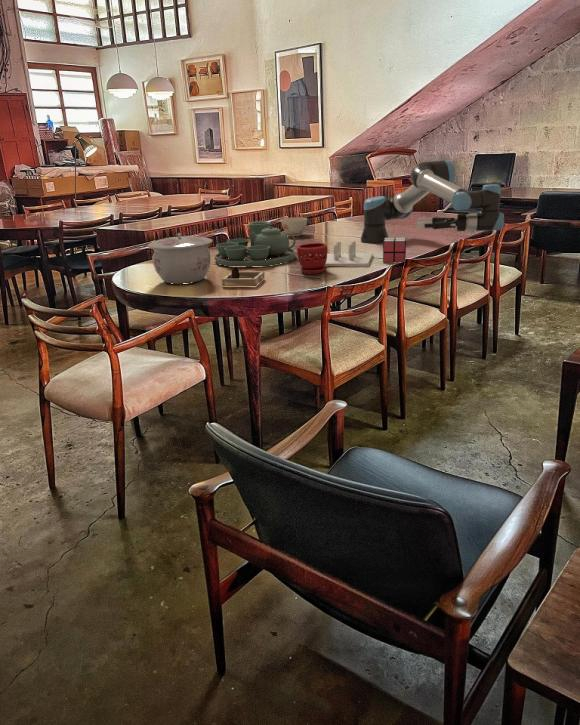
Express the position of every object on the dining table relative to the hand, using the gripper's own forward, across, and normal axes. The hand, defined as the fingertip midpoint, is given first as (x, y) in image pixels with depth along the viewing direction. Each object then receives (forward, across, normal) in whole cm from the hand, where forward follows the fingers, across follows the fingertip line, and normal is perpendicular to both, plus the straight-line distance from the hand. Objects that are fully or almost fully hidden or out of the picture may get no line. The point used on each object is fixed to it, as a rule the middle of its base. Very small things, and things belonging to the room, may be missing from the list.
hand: (417, 223), depth 261 cm
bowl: (+74, +75, -16) cm, 107 cm away
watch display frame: (+69, -46, -17) cm, 84 cm away
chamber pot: (+97, -42, -17) cm, 107 cm away
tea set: (+78, +3, -17) cm, 80 cm away
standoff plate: (+33, -1, -17) cm, 37 cm away
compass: (+69, -45, -17) cm, 84 cm away
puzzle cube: (+10, 0, -17) cm, 20 cm away
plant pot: (+44, -24, -17) cm, 53 cm away
